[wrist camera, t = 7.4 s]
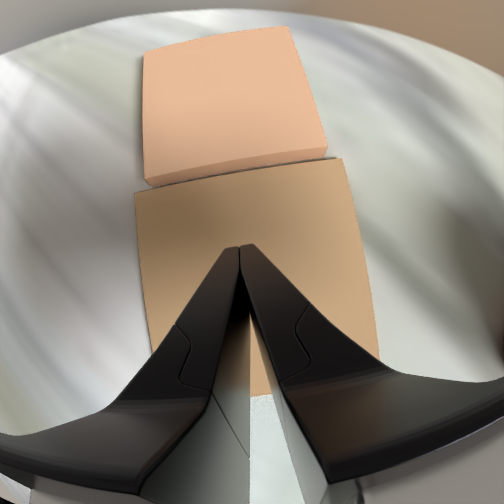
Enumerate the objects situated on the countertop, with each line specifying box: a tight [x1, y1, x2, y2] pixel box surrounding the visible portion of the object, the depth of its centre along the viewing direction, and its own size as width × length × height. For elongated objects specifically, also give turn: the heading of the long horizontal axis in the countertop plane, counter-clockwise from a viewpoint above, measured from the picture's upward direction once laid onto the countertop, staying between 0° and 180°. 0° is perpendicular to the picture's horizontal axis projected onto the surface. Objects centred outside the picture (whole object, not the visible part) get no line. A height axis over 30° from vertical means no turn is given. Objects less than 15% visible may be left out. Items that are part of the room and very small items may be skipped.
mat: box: [134, 158, 380, 397], centre depth 16 cm, size 12×12×1 cm
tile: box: [143, 26, 328, 187], centre depth 18 cm, size 2×10×10 cm
